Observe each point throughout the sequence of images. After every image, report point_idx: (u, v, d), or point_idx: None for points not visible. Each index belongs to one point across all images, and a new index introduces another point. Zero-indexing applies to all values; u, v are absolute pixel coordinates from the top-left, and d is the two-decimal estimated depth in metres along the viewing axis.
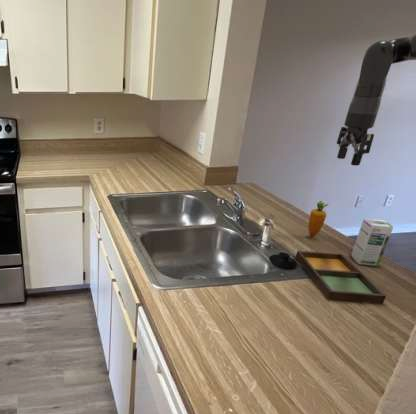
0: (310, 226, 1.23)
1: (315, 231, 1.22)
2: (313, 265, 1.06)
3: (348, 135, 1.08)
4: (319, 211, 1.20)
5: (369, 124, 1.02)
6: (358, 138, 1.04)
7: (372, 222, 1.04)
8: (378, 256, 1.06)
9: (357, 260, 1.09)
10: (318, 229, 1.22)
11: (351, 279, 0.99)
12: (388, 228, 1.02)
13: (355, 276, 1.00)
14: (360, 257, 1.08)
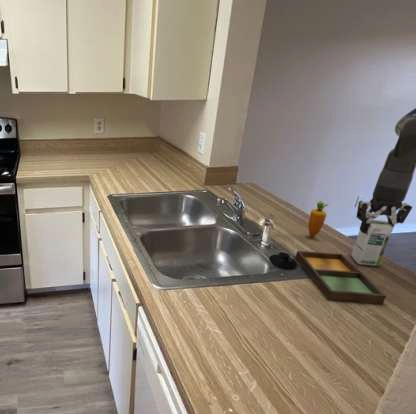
0: (310, 226, 1.23)
1: (315, 231, 1.22)
2: (313, 265, 1.06)
3: None
4: (319, 211, 1.20)
5: (378, 194, 1.01)
6: None
7: (372, 222, 1.04)
8: (378, 256, 1.06)
9: (357, 260, 1.09)
10: (318, 229, 1.22)
11: (351, 279, 0.99)
12: (388, 228, 1.02)
13: (355, 276, 1.00)
14: (360, 257, 1.08)
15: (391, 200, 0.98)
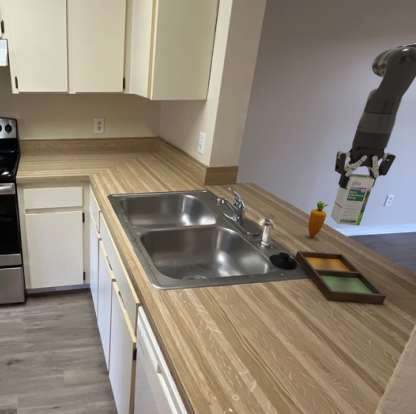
0: (310, 226, 1.23)
1: (315, 231, 1.22)
2: (313, 265, 1.06)
3: None
4: (319, 211, 1.20)
5: (357, 142, 0.90)
6: None
7: (352, 175, 0.94)
8: (359, 214, 0.95)
9: (336, 220, 0.99)
10: (318, 229, 1.22)
11: (351, 279, 0.99)
12: (369, 180, 0.92)
13: (355, 276, 1.00)
14: (339, 215, 0.97)
15: (372, 147, 0.88)
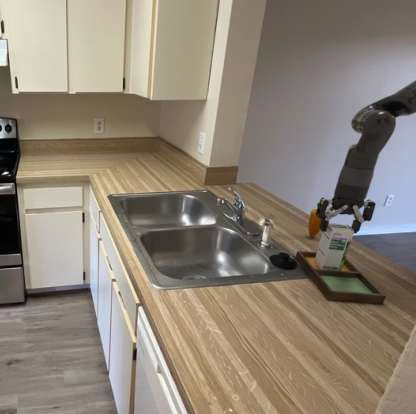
0: (310, 226, 1.23)
1: (315, 231, 1.22)
2: (313, 265, 1.06)
3: None
4: None
5: (338, 192, 0.95)
6: None
7: (333, 226, 1.00)
8: (340, 261, 1.01)
9: (319, 265, 1.05)
10: (318, 229, 1.22)
11: (351, 279, 0.99)
12: (349, 232, 0.98)
13: (355, 276, 1.00)
14: (321, 262, 1.03)
15: (351, 198, 0.93)
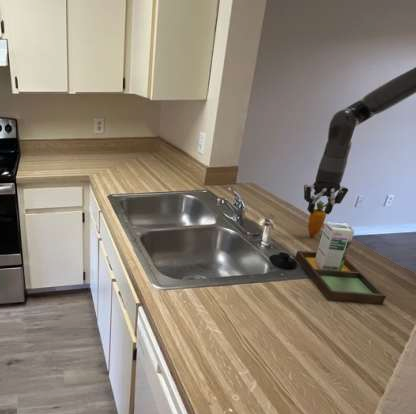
0: (310, 226, 1.23)
1: (315, 231, 1.22)
2: (313, 265, 1.06)
3: None
4: (319, 211, 1.20)
5: (319, 177, 1.15)
6: None
7: (333, 226, 1.00)
8: (340, 261, 1.01)
9: (319, 265, 1.05)
10: (318, 229, 1.22)
11: (351, 279, 0.99)
12: (349, 232, 0.98)
13: (355, 276, 1.00)
14: (321, 262, 1.03)
15: (329, 182, 1.13)
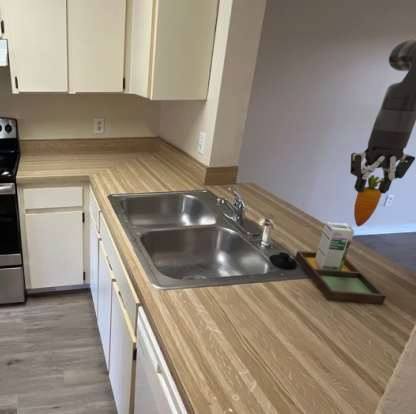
0: (357, 210, 0.90)
1: (365, 217, 0.90)
2: (313, 265, 1.06)
3: None
4: (371, 189, 0.87)
5: (374, 141, 0.83)
6: None
7: (333, 226, 1.00)
8: (340, 261, 1.01)
9: (319, 265, 1.05)
10: (369, 214, 0.89)
11: (351, 279, 0.99)
12: (349, 232, 0.98)
13: (355, 276, 1.00)
14: (321, 262, 1.03)
15: (390, 147, 0.81)
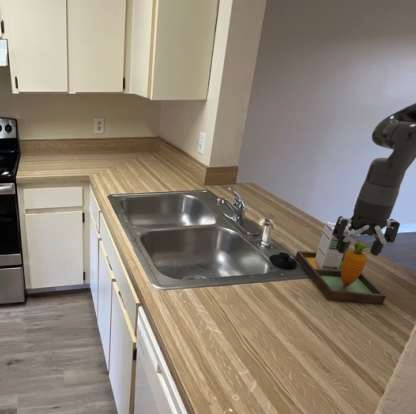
0: (344, 273, 0.94)
1: (351, 279, 0.93)
2: (313, 265, 1.06)
3: None
4: (357, 254, 0.91)
5: (359, 211, 0.86)
6: None
7: (333, 226, 1.00)
8: (340, 261, 1.01)
9: (319, 265, 1.05)
10: (355, 277, 0.93)
11: None
12: None
13: None
14: (321, 262, 1.03)
15: (374, 218, 0.84)
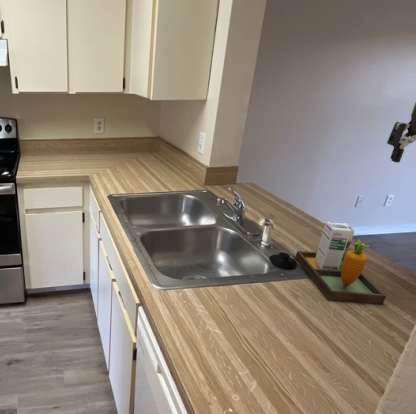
0: (344, 273, 0.94)
1: (351, 279, 0.93)
2: (313, 265, 1.06)
3: None
4: (357, 254, 0.91)
5: None
6: None
7: (333, 226, 1.00)
8: (340, 261, 1.01)
9: (319, 265, 1.05)
10: (355, 277, 0.93)
11: None
12: (349, 232, 0.98)
13: None
14: (321, 262, 1.03)
15: None
